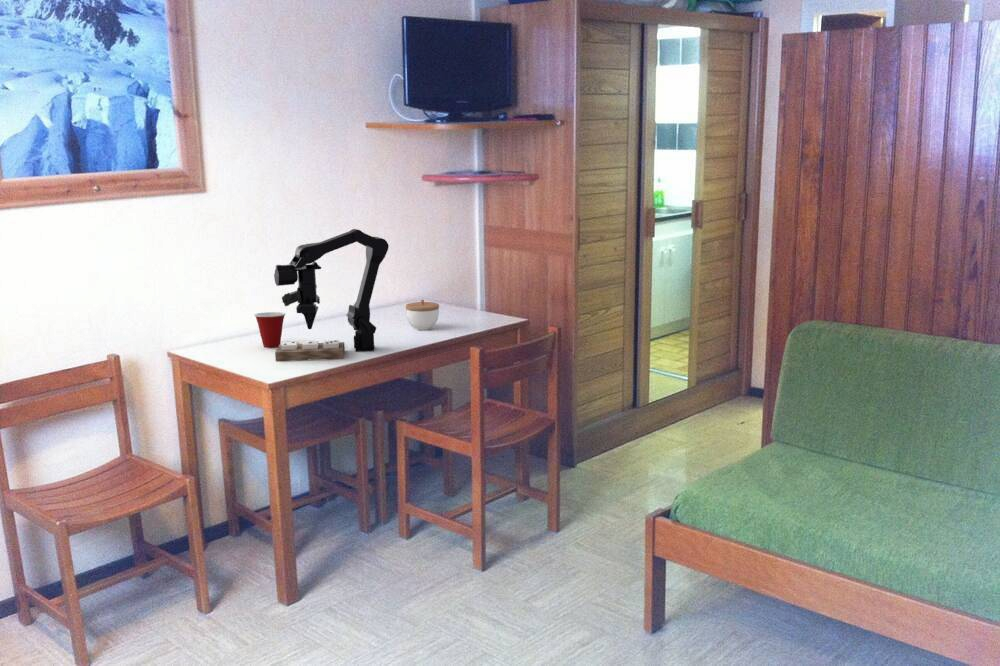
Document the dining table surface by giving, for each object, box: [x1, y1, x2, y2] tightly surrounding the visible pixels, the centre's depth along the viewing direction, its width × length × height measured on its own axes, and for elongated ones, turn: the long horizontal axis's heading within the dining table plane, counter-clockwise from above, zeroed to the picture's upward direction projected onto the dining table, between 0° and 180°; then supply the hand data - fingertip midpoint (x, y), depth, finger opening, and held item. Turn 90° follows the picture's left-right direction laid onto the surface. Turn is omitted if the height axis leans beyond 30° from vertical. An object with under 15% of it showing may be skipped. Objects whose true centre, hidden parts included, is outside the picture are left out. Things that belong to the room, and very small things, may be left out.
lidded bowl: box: [405, 299, 440, 331], centre depth 362 cm, size 13×13×11 cm
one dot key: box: [301, 340, 319, 349], centre depth 321 cm, size 5×5×2 cm
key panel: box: [274, 341, 346, 362], centre depth 321 cm, size 22×12×3 cm, turn 96°
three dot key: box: [322, 339, 340, 349], centre depth 322 cm, size 5×5×2 cm
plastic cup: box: [253, 311, 286, 349], centre depth 335 cm, size 11×11×12 cm
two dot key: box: [280, 341, 299, 350], centre depth 320 cm, size 5×5×2 cm
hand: (309, 329), depth 320 cm, fingers closed
